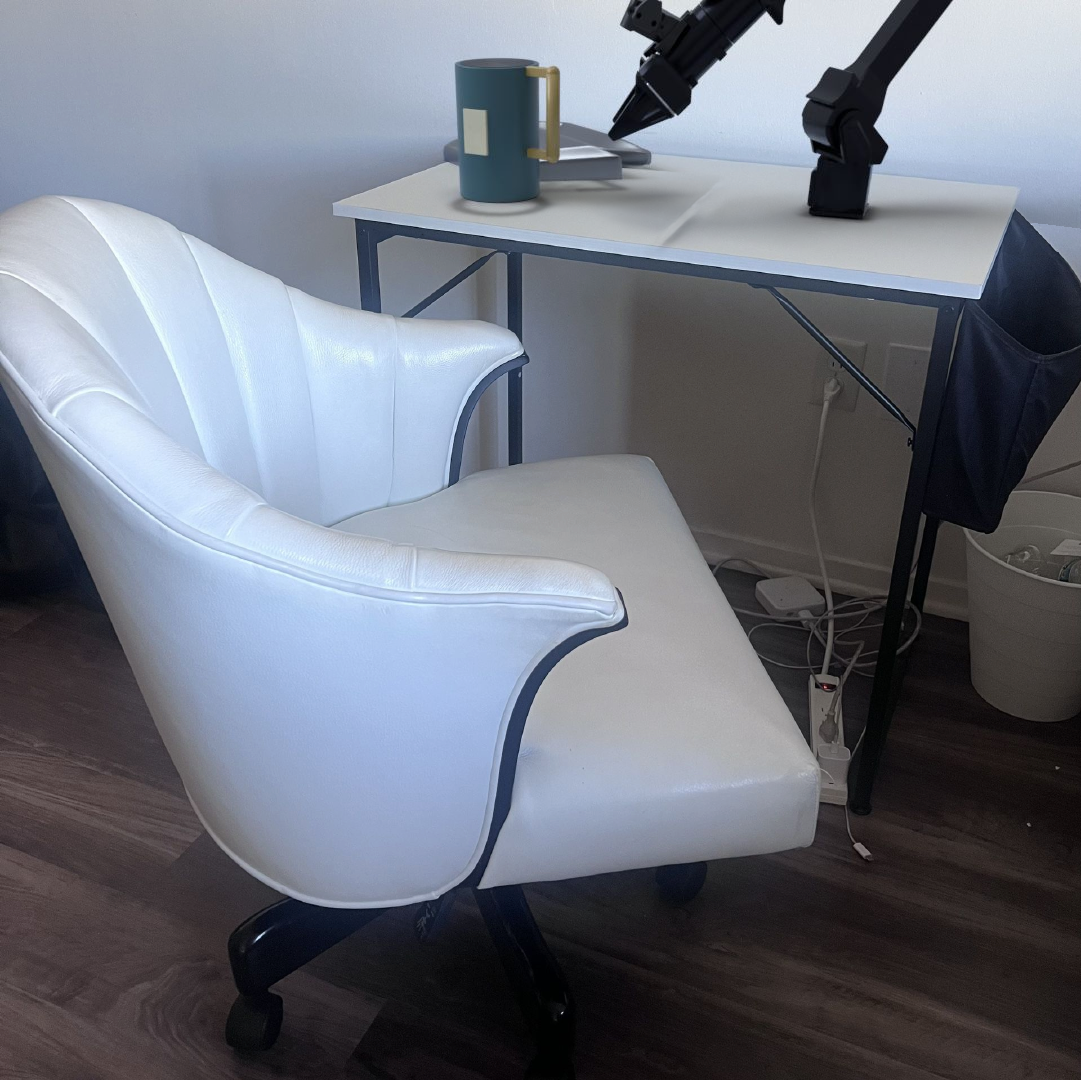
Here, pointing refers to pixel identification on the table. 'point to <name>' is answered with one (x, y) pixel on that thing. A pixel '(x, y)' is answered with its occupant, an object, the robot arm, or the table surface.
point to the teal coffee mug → (504, 127)
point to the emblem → (580, 155)
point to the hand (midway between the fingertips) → (612, 130)
